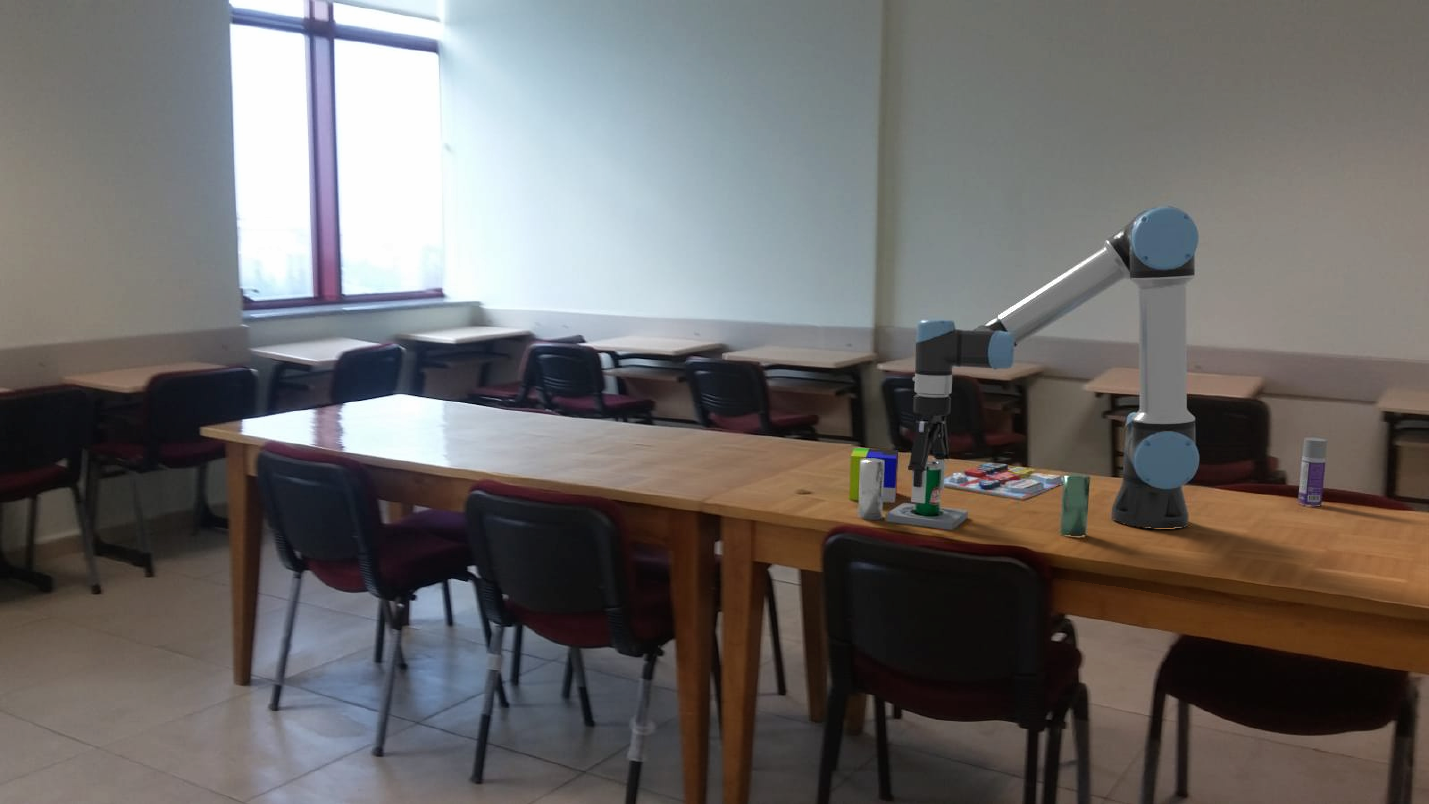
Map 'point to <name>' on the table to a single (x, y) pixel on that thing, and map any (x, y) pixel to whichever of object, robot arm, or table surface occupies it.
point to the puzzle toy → (889, 471)
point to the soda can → (931, 491)
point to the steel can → (871, 489)
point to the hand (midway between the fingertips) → (927, 495)
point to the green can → (1074, 504)
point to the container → (1312, 471)
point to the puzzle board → (1003, 481)
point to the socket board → (944, 521)
